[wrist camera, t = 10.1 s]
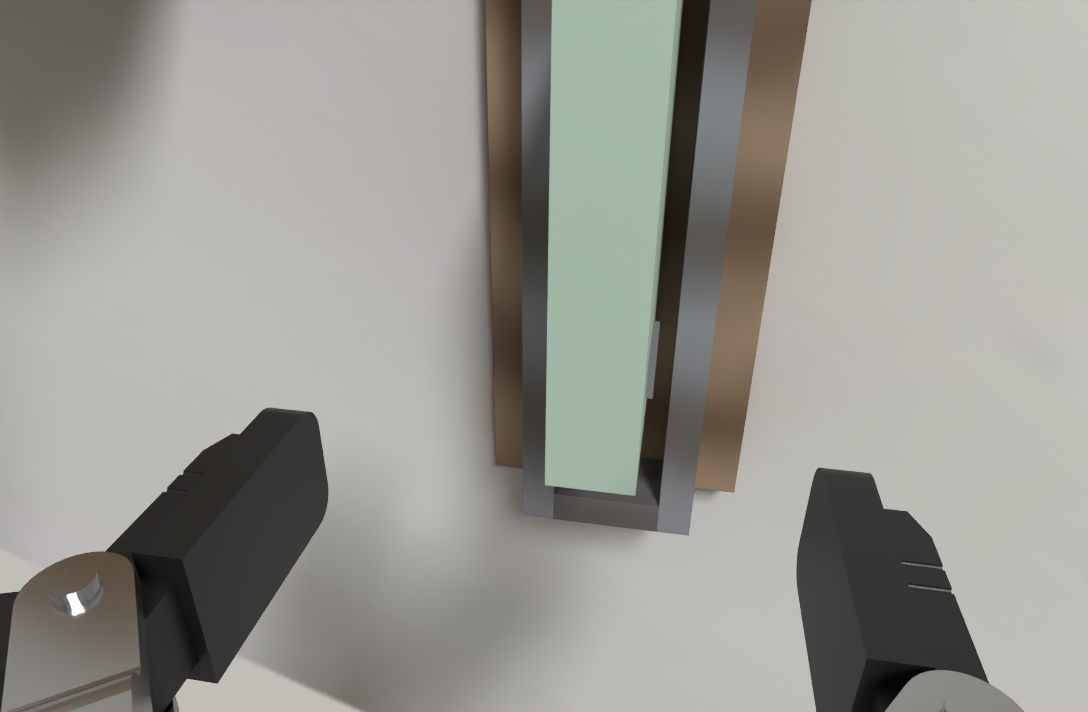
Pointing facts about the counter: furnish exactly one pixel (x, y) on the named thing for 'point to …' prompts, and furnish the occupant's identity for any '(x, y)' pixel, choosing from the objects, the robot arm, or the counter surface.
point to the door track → (686, 259)
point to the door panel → (606, 232)
